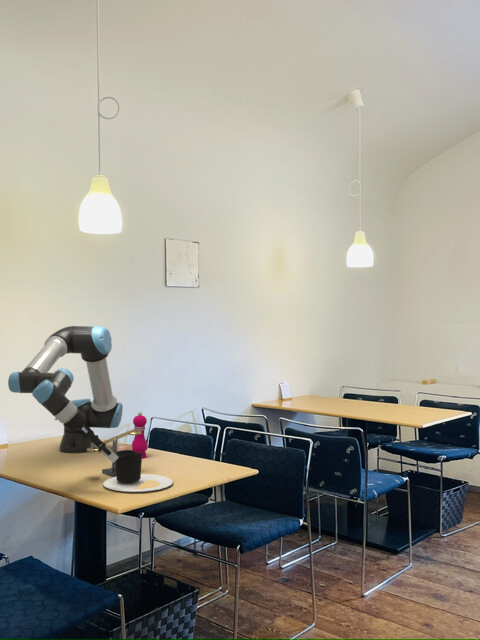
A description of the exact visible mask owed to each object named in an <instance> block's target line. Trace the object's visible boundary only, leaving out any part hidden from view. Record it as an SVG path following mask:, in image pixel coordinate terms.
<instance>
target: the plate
mask: <svg viewBox="0 0 480 640" xmlns="http://www.w3.org/2000/svg"><path fill="white" fill-rule="evenodd" d="M148 480H153V481H157V482H159V483H160V484H159V486H157V487H153V488H145V489H133V488H136V487H139V485H140V484H142V483H143V484H144V481H145V482H146V481H148ZM173 482H174V481H173V480H172V479H171V478H169V477H167V476H164V475H159V474H150V473H148V474H146V473H141V478H140V480H139V481H136V482H119V481H117V478H116V477H110V478H108V479H106V480H104V481H103V483H102V485H103V486H104V488H105V489H108V490H111V491H114V492H121V493H150V492H157V491H161V490H164V489H168V488H170V487H171V486H172V485H173V484H174V483H173ZM140 486H141V485H140Z"/></svg>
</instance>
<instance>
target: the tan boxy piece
mask: <svg viewBox="0 0 480 640" xmlns="http://www.w3.org/2000/svg"><path fill="white" fill-rule="evenodd" d="M122 450H132V444H129V443H128V444H127V443H117V452H118V451H122Z"/></svg>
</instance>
